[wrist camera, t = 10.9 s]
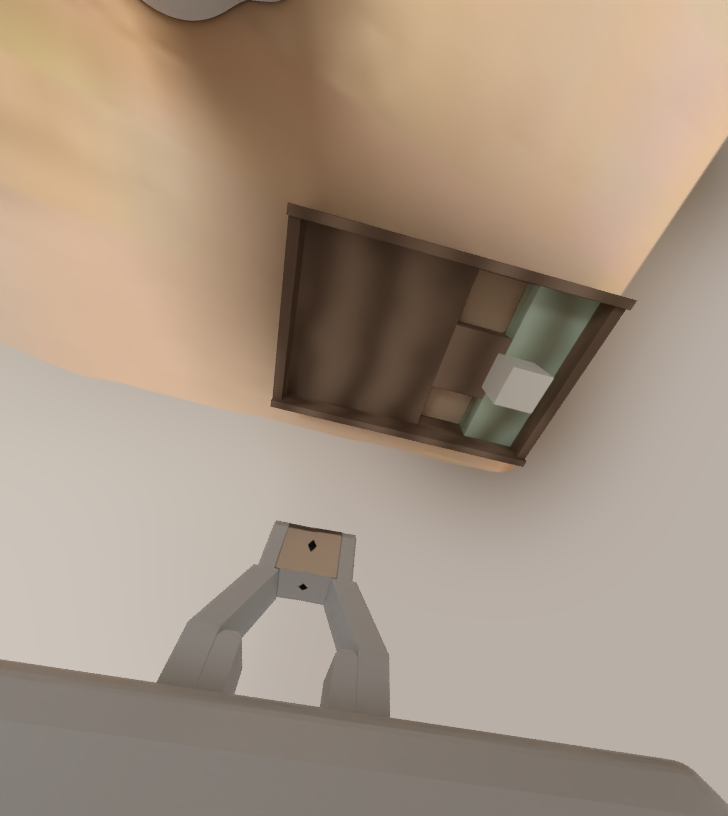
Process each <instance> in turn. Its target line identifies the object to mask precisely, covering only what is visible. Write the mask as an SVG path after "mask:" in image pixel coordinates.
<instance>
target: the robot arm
mask: <svg viewBox="0 0 728 816" xmlns="http://www.w3.org/2000/svg"><path fill="white" fill-rule="evenodd" d="M142 1H144V2H145V3H146V4H148V5H149V6H151V7H152V8H154V9H156V10H157V11H159V12H161V13H163V14H166V15H168V16H171V17H174V18H177V19H182V20H189V21H198V20H205V19H210V18H212V17H215V16H218V15H220V14H222V13H224V12H225V11H227V10H228V9H230V8H232V7H233V6H235V5H237V4H238V3H241V2H243V1H246V0H142ZM254 1H263V2H276V1H280V0H254ZM355 545H356V537H355V535H351V534H344V533H342V532H335V531H330V530H323V529H318V528H311V527H306V526H301V525H296V524H291V523H287V522H281V521H276V522H275V524H274V526H273V528H272V531H271V534H270V536H269V539H268V541H267V544H266V546H265V549H264V551H263V554H262V557H261V559H260V562H259V564H258V565H255V564H254V565H253V566H252V567H250V568H249V569H248V570H247V571H246V572H245V573H244V574H242V575H241V576H240V577H239V578H238V579H237V580H235V581H234V582H233V583H232V584H231V585H230V586H229V587H227V588H226V589H225V590H224V591H223V592H222V593H220V594H219V595H218V596H217V597H216V598H215V599H213V600H212V601H211V602H210V603H209V604H208V605H207V606H206V607H204V608H203V609H202V610H201V611H200V612H198V613H197V614H196V615H195V616H194V617H193V618H192V619H190V620H189V621H188V622H187V624H186V626H185V628H184V630H183V632H182V634H181V636H180V638H179V640H178V642H177V644H176V646H175V648H174V650H173V652H172V654H171V655H170V658H169V659H168V661H167V663H166V665H165V667H164V669H163V671H162V673H161V675H160V677H159V679H158V681H157V682H156V683H154V682H147V681H141V680H134V679H128V678H121V677H114V676H107V675H101V674H94V673H88V672H81V671H74V670H68V669H61V668H54V667H47V666H41V665H34V664H27V663H21V662H14V661H7V660H1V659H0V816H728V804H727V803H726V802H725V801H724V800H723V799H722V798H721V797H720V796H719V795H718V794H717V793H716V792H715V791H714V790H713V789H712V788H711V787H710V786H709V785H708V784H707V783H706V782H705V781H704V780H703V779H702V778H701V777H700V776H699V775H698V774H697V773H696V772H695V771H694V770H692V769H691V768H690V767H688V766H686V765H684V764H683V763H680V762H677V761H674V760H668V759H663V758H656V757H650V756H643V755H636V754H629V753H623V752H616V751H609V750H602V749H596V748H589V747H582V746H576V745H569V744H563V743H555V742H549V741H543V740H536V739H529V738H522V737H516V736H509V735H502V734H496V733H489V732H482V731H475V730H469V729H462V728H455V727H449V726H442V725H435V724H428V723H422V722H415V721H409V720H402V719H394V718H390V689H389V654H388V652H387V650H386V647H385V645H384V643H383V641H382V638H381V636H380V634H379V632H378V630H377V627H376V625H375V623H374V621H373V619H372V616H371V614H370V612H369V610H368V607H367V605H366V603H365V601H364V599H363V596H362V594H361V592H360V590H359V587H358V585H357V583H356V582H352V579H353V567H354V556H355ZM276 597H281V598H288V599H296V600H301V601H306V602H311V603H316V604H321V605H324V609H325V613H326V616H327V619H328V623H329V626H330V630H331V633H332V637H333V640H334V643H335V647H336V650H337V652H336V653H335V656H334V658H333V661H332V663H331V665H330V668H329V670H328V672H327V675H326V677H325V680H324V683H323V690H322V697H321V704H320V707H315V706H307V705H301V704H295V703H287V702H282V701H274V700H268V699H261V698H254V697H247V696H241V695H235V694H234V693H235V690H236V687H237V683H238V680H239V677H240V674H241V671H242V637H243V636H244V635H245V634H246V632H247V631H248V630H249V629H250V628H251V627H252V626H253V624H254V623H255V622H256V621H257V620H258V619H259V617H260V616H261V615H262V614H263V613H264V612H265V611H266V610H267V608H268V607H269V606H270V605H271V604H272V603H273V602H274V600H275V599H276Z"/></svg>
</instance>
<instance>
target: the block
mask: <svg viewBox="0 0 728 816" xmlns="http://www.w3.org/2000/svg"><path fill="white" fill-rule="evenodd" d="M553 379H554V377H552V376H551V375H550V374H548V373H547V372H546V371H544V370H543V369H542V368H540V367H539V366H538V365H536V364H535V363H533V362H529V361H525V360H522V359H518V358H514V357H511V356H507V355H503V354H500V353H498V355H497V357H496V359H495V361H494V363H493V365H492V367H491V369H490V371H489V373H488V375H487V377H486V379H485V381H484V383H483V385H482V388H483V390H484V391H485V393H486V394H487V395H488V397H489V398H490V400H491V401H492V403H493V404H496V405H499V406H503V407H507V408H511V409H515V410H519V411H523V412H526V413H530V414H532V412H533V410H534V409H535V407H536V406H537V404H538V403H539V401H540V399H541V398H542V396H543V395H544V393H545V392H546V390H547V388H548V387H549V385H550V384H551V382H552V381H553Z"/></svg>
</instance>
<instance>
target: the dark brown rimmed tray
mask: <svg viewBox="0 0 728 816" xmlns="http://www.w3.org/2000/svg"><path fill="white" fill-rule="evenodd" d="M287 215H289V217H288V228H287V240H286V251H285V262H284V274H283V285H282V297H281V308H280V319H279V331H278V342H277V354H276V365H275V377H274V388H273V398H272V400H271V407H275V408H279V409H283V410H288V411H292V412H296V413H300V414H304V415H309V416H313V417H317V418H321V419H325V420H329V421H334V422H338V423H342V424H346V425H350V426H355V427H359V428H363V429H367V430H371V431H375V432H380V433H384V434H388V435H392V436H396V437H401V438H405V439H409V440H413V441H417V442H421V443H426V444H430V445H434V446H438V447H442V448H447V449H451V450H455V451H459V452H463V453H468V454H472V455H476V456H480V457H484V458H488V459H493V460H497V461H501V462H505V463H509V464H514V465H518V466H522V467H523V466H524V464H525V463H526V460H525V458H526V456H527V455H528V453H529V451H530V450H531V449H532V447H533V446H534V444H535V443H536V441H537V440H538V438H539V437H540V435H541V434H542V432H543V431H544V430H545V428H546V427H547V425H548V424H549V422H550V421H551V419H552V418H553V416H554V415H555V413H556V412H557V410H558V409H559V407H560V406H561V404H562V403H563V401H564V400H565V399H566V397H567V396H568V394H569V393H570V391H571V390H572V388H573V387H574V385H575V384H576V382H577V381H578V379H579V378H580V376H581V375H582V373H583V372H584V371H585V369H586V367H587V366H588V365H589V363H590V362H591V360H592V359H593V357H594V356H595V354H596V353H597V351H598V350H599V348H600V347H601V345H602V344H603V343H604V341H605V340H606V338H607V337H608V335H609V333H610V332H611V331H612V329H613V328H614V326H615V325H616V323H617V322H618V320H619V319H620V317H621V316H622V315H623V313H624V312H625V310H626V309H628V310H631V309H632V307H633V306H634V304H635V303H636V300H633V299H629V298H626V297H622V296H619V295H615V294H611V293H608V292H604V291H601V290H597V289H594V288H590V287H587V286H583V285H579V284H576V283H572V282H569V281H565V280H562V279H558V278H555V277H551V276H548V275H544V274H540V273H537V272H533V271H530V270H526V269H523V268H519V267H516V266H512V265H508V264H505V263H501V262H498V261H494V260H491V259H487V258H484V257H480V256H477V255H473V254H469V253H466V252H462V251H459V250H455V249H452V248H448V247H445V246H441V245H437V244H434V243H430V242H427V241H423V240H420V239H416V238H413V237H409V236H406V235H402V234H398V233H395V232H391V231H388V230H384V229H381V228H377V227H374V226H370V225H366V224H363V223H359V222H356V221H352V220H349V219H345V218H342V217H338V216H335V215H331V214H327V213H324V212H320V211H317V210H313V209H310V208H306V207H303V206H299V205H295V204H292V203H288V206H287ZM478 270H483V271H487V272H490V273H494V274H497V275H501V276H505V277H508V278H512V279H515V280H519V281H522V282H526V283H528V285H527V287H526V289H525V291H524V293H523V296H522V298H521V300H520V302H519V304H518V306H517V308H516V310H515V312H514V314H513V316H512V318H511V320H510V322H509V324H508V326H507V328H506V330H505V332H504V333H500V332H496V331H492V330H489V329H485V328H481V327H477V326H473V325H470V324H466V323H462V322H458V320H459V318H460V315H461V313H462V310H463V308H464V305H465V303H466V300H467V298H468V295H469V292H470V290H471V287H472V285H473V282H474V280H475V277H476V275H477V272H478ZM498 353H500V354H503V355H507V356H511V357H514V358H518V359H522V360H525V361H529V362H533V363H535V364H536V365H538V366H539V367H540V368H542V369H543V370H544V371H546V372H547V373H548V374H550V375H551V376H552V377H554V379H553V381H552V382H551V384H550V385H549V387H548V388H547V390H546V392H545V393H544V395H543V396H542V398H541V399H540V401H539V403H538V404H537V406H536V407H535V409H534V410H533V412H532V414H530V413H526V412H523V411H519V410H515V409H511V408H507V407H503V406H499V405H496V404H493V403H492V401H491V400H490V398H489V397H488V395H487V394H486V393H485V391H484V390H483V388H482V385H483V383H484V381H485V379H486V377H487V375H488V373H489V371H490V369H491V367H492V365H493V363H494V361H495V359H496V357H497V355H498ZM432 386H433V387H437V388H441V389H444V390H448V391H452V392H456V393H460V394H464V395H468V396H472V397H473V398H472V400H471V402H470V404H469V406H468V408H467V410H466V412H465V414H464V416H463V418H462V420H461V422H460V424H455V423H451V422H447V421H443V420H439V419H435V418H431V417H427V416H423V415H421V413H422V410H423V408H424V405H425V403H426V400H427V398H428V395H429V393H430V390H431V388H432Z"/></svg>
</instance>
